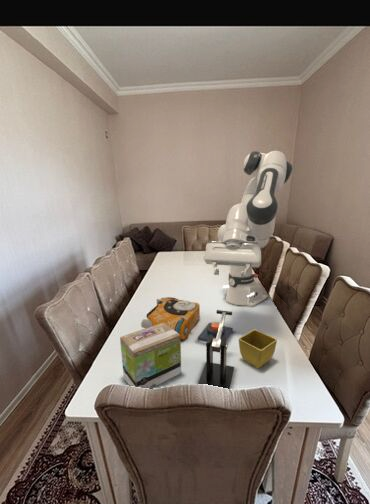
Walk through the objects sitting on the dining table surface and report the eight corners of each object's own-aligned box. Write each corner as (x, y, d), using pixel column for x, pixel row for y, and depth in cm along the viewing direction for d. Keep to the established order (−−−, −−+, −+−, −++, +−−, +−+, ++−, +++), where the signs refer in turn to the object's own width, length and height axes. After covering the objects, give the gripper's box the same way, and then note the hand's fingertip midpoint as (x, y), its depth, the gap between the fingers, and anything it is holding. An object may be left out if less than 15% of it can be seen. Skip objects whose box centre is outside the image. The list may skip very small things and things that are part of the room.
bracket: (206, 364, 82) (206, 327, 77) (234, 369, 79) (235, 331, 75) (196, 391, 71) (195, 349, 67) (228, 398, 68) (229, 355, 64)
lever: (217, 313, 83) (216, 307, 81) (232, 314, 81) (232, 309, 80) (207, 350, 72) (206, 345, 70) (224, 353, 70) (224, 348, 69)
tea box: (137, 399, 68) (133, 352, 64) (123, 378, 76) (118, 336, 72) (182, 375, 77) (181, 333, 72) (165, 359, 85) (163, 320, 80)
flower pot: (259, 376, 76) (261, 350, 73) (236, 362, 82) (237, 338, 80) (275, 363, 81) (277, 339, 78) (253, 351, 88) (254, 328, 85)
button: (213, 325, 98) (213, 321, 98) (221, 327, 97) (221, 323, 96) (209, 330, 95) (209, 326, 95) (218, 332, 94) (218, 328, 93)
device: (129, 317, 97) (163, 290, 124) (131, 335, 100) (164, 305, 126) (183, 326, 89) (207, 295, 116) (184, 346, 92) (207, 311, 118)
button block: (209, 327, 104) (209, 318, 103) (232, 332, 100) (233, 323, 99) (197, 342, 94) (197, 332, 93) (223, 348, 90) (223, 339, 88)
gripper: (205, 236, 93) (198, 269, 87) (263, 238, 86) (259, 273, 81) (208, 245, 98) (202, 277, 93) (262, 247, 92) (259, 281, 86)
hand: (229, 275), depth 87 cm, fingers open, 8 cm apart
